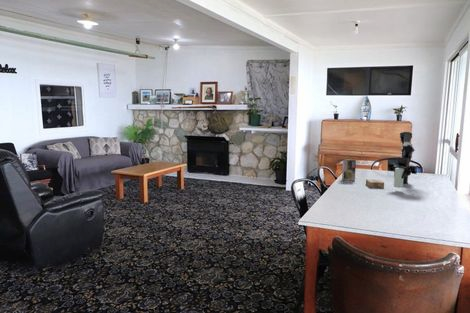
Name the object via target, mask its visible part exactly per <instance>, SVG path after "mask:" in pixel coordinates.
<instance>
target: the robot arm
mask: <svg viewBox="0 0 470 313" xmlns="http://www.w3.org/2000/svg"><path fill="white" fill-rule="evenodd" d="M412 138H413V133H412V132H411V131H401V132H400V134H399V140H400V143H401V144H402V145H401V148H400V149H401V150H400V151H401V157H399V156H398V157H397V159H396V162H397V164H395V162H393V163H392V162H389V163H388V164H387V168H388V170H389V171H393V173H394V174H393V177H394V176H395V168H404V173H403V175H402V177H401V178H402V179H403V178H404V179H403V184H409V182H408V181H409V176H411V175H412V174H414V175H417V173H418V168H417V166H416V165H410V163H411V160H412V158H413V153H414V152H415V149H414V147H413V144H412V143H411V139H412Z"/></svg>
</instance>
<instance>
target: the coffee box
mask: <svg viewBox="0 0 470 313" xmlns="http://www.w3.org/2000/svg"><path fill="white" fill-rule="evenodd" d="M356 164H357V160H356V159H353V158H352V159H350V158H343V159H342V169H341V170H342V171H341V173H342V174H341V179H342V181H356V170H357V169H356Z"/></svg>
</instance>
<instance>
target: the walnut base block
mask: <svg viewBox="0 0 470 313" xmlns="http://www.w3.org/2000/svg"><path fill="white" fill-rule="evenodd" d="M365 186H367V187H368V188H372V189H384V188H385V182H384V181H382V180H381V179H368V178H367V179H366V180H365Z"/></svg>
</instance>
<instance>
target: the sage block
mask: <svg viewBox="0 0 470 313" xmlns="http://www.w3.org/2000/svg"><path fill="white" fill-rule="evenodd" d="M403 173H404V168H395V176H394V175H393V188H399V189H402V188H403V187H404V183H403V179H404V178H403V179H402V178H401V177H402V175H403Z"/></svg>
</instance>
